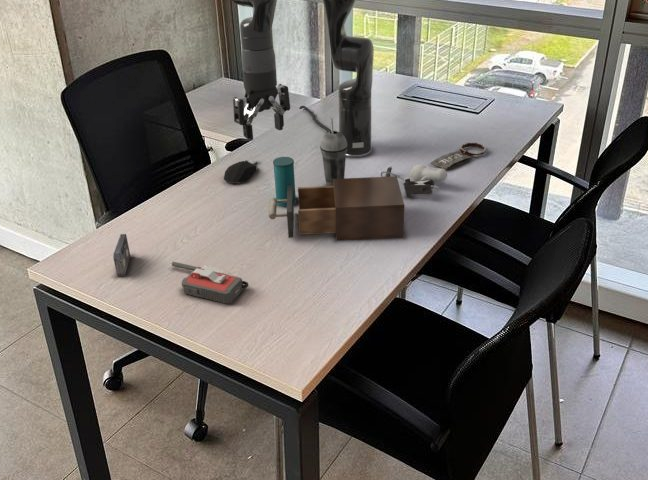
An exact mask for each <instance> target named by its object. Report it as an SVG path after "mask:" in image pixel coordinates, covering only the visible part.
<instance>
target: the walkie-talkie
mask: <svg viewBox="0 0 648 480" xmlns="http://www.w3.org/2000/svg"><path fill="white" fill-rule="evenodd" d="M171 266H172V267H175V268H179V269H182V270H183V269H184V270H188V271H191V272H190V274H188V276H186V277H184V278H183V279H182V280H181V287H182V289H183V293H184V294H186V295H190V296H193V297H196V298H197V297H198V298H202V299H207V300H210V301H214V302H217V303H218V302H219V303H223V304H226V305H227V304H231V303H232V302H233V301H234V300H235V299H236V298H237V297H238V296H239V294H241V292H242V291H243V290H244V289H247V288H248V287H249V283H248V281H245V280H243V279H242V277H239V276H235V275H230V274H226V273H224V272H223V271H222V269H221V268H218V267H214V266H210V265H208V264H204V265H203V266H202V267H201V266H194V265H192V264H191V265H190V264H186V263H181V262H178V261H172V262H171Z"/></svg>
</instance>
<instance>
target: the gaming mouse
mask: <svg viewBox="0 0 648 480" xmlns="http://www.w3.org/2000/svg"><path fill="white" fill-rule="evenodd" d="M256 164H258V162H257V161H256V162H254V163H251V162H250V161H249V160H242V161H238V162H235V163H233V164H231V165H230V166H228V167H227V169H226V170H225V171H224V175H223V180H224V181H225V182H226V183H228V184H242V183H244V182H246V181H248V179H250V178H251V177H252V176H253V175H254V174H255V173H256V172H257V166H256Z"/></svg>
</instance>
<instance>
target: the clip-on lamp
mask: <svg viewBox="0 0 648 480" xmlns="http://www.w3.org/2000/svg"><path fill="white" fill-rule="evenodd" d="M392 170H393V165H390V166H388V167H387V169H386V171H381V172H380V177H391V176H397V178H399V179H401V180H403V181H404V182H403V187H404V192H405V195H406V198H411V197H412V196H413V195H432V193H433V189H435V190H439V189H440V188H439V186H438V185H436V184H435V182H438V183H439V182H445V181H446V179H447V177H448V172H447V171H446V170H447V169H446V170H445V169H442V168H440V167H427V166H426V165H424V164H422V163H419V164H418V163H417V164H415V165H413V166H412V169H411V170H410V174H409V175H410V177H407V178H404V177H403V176H400V175H398V174H395V173H393V172H392ZM383 174H385V176H384V175H383Z"/></svg>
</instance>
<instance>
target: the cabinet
mask: <svg viewBox="0 0 648 480" xmlns="http://www.w3.org/2000/svg"><path fill="white" fill-rule="evenodd" d="M333 188H334V199H335V211H336V233H335V239H336V241H356V240H357V241H358V240H376V239H400V238H402V239H403V238H404V235H405V232H404V231H405V230H404V229H405V201H404V198H403V195H402V194H403V193H402V191H401V186H400V183H399V179H398V177H397V176H394V175H390V177H385V176H383V177H381V176H370V177H347V178H345V177H344V178H343V179H333Z"/></svg>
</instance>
